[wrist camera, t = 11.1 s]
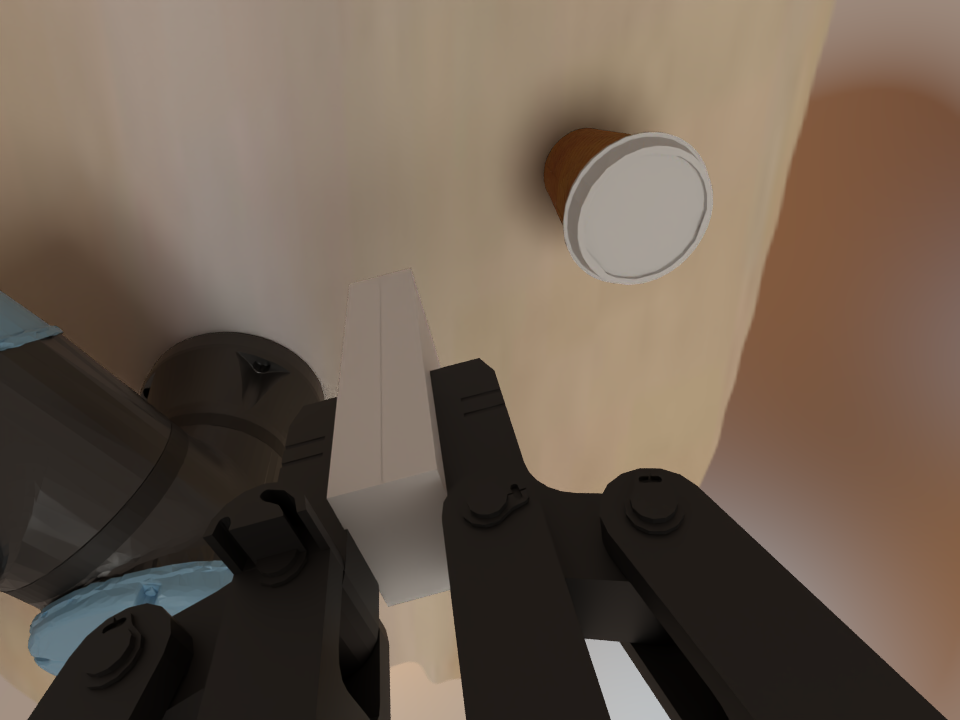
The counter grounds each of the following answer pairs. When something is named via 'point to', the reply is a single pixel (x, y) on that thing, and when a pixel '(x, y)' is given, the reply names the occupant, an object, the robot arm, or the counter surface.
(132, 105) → the counter surface
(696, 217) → the disposable coffee cup
